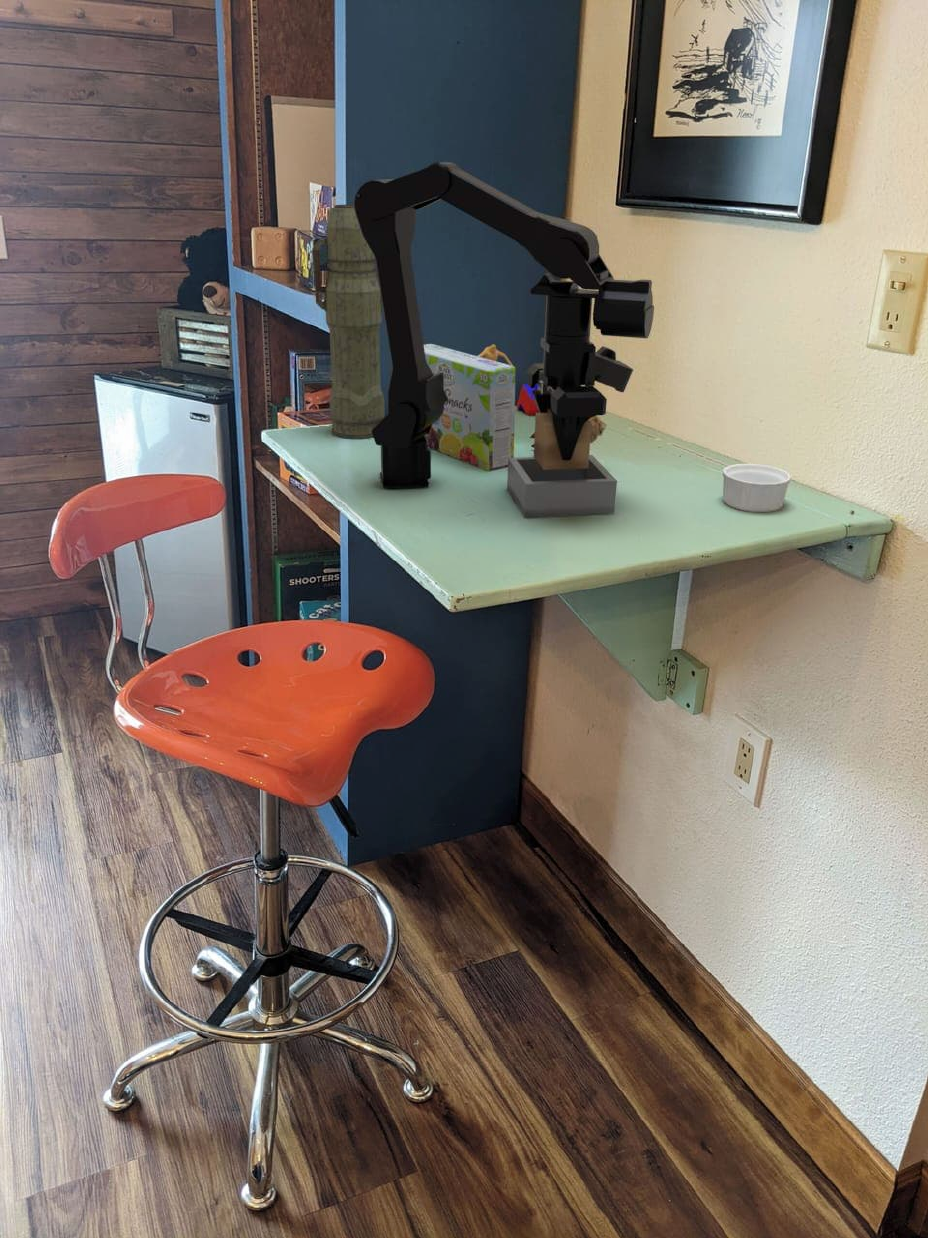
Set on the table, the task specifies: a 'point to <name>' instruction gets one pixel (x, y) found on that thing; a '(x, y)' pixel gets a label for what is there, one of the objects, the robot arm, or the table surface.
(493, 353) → the figurine
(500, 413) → the snack box
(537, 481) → the grey square tray
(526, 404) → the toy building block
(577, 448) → the walnut cube
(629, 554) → the table surface
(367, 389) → the thermos
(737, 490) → the ramekin
